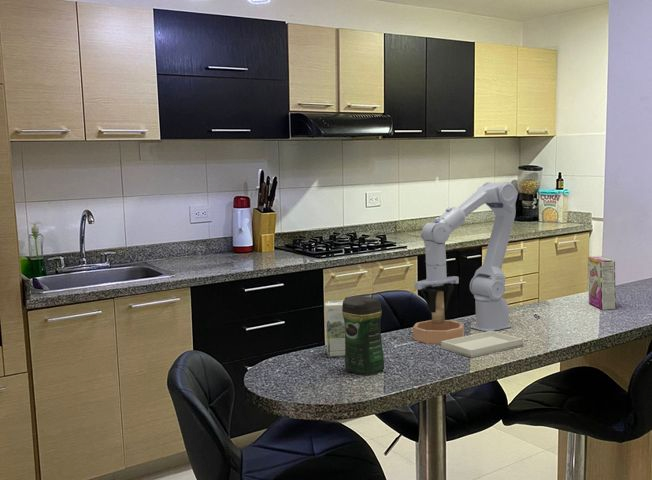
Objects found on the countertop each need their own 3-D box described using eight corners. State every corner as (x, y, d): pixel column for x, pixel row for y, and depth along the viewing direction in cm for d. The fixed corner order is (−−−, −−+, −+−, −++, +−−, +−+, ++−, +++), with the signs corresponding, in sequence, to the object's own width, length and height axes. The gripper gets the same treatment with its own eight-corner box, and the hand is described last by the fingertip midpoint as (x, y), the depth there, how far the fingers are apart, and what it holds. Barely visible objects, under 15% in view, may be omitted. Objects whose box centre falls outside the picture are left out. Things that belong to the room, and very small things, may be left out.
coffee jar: (390, 370, 158) (386, 296, 156) (366, 378, 153) (362, 301, 151) (363, 363, 165) (360, 291, 164) (339, 370, 160) (336, 296, 159)
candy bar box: (587, 304, 221) (586, 256, 220) (602, 303, 221) (601, 255, 220) (601, 310, 210) (600, 260, 209) (616, 309, 210) (615, 259, 209)
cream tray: (491, 337, 184) (491, 330, 184) (523, 346, 173) (522, 338, 173) (441, 348, 175) (441, 341, 175) (471, 358, 165) (471, 350, 165)
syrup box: (347, 351, 178) (345, 299, 177) (349, 356, 172) (346, 303, 171) (327, 352, 178) (324, 300, 176) (327, 358, 172) (324, 304, 171)
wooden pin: (439, 320, 189) (438, 290, 189) (447, 322, 186) (446, 291, 185) (429, 322, 188) (428, 291, 187) (437, 324, 185) (436, 293, 184)
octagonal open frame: (442, 329, 197) (442, 317, 196) (473, 337, 184) (473, 325, 184) (405, 336, 190) (404, 325, 190) (434, 346, 178) (434, 333, 178)
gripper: (447, 260, 192) (448, 305, 194) (407, 265, 185) (409, 312, 187) (462, 262, 186) (464, 308, 187) (422, 268, 179) (424, 316, 181)
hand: (438, 310), depth 187 cm, fingers closed on wooden pin, 4 cm apart
